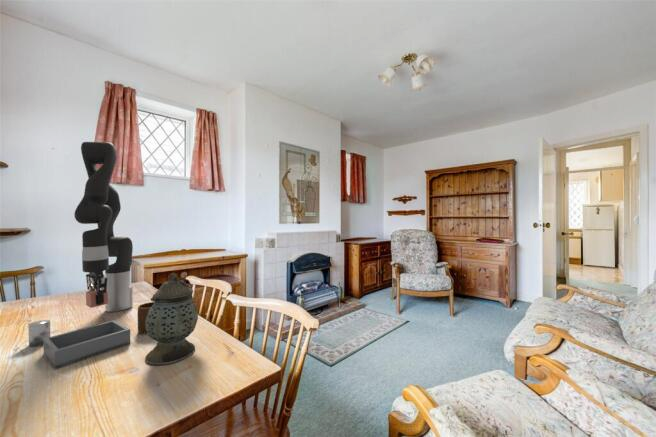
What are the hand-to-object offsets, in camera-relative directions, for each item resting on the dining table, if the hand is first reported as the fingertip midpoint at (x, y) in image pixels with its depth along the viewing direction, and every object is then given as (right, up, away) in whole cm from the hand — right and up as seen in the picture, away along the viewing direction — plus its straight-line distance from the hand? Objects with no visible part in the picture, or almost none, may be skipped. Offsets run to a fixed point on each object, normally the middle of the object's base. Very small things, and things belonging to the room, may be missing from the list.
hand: (97, 302), depth 102 cm
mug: (+22, -10, -1) cm, 24 cm away
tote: (+10, -10, -15) cm, 21 cm away
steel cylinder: (-10, -10, -11) cm, 18 cm away
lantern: (+39, -11, -18) cm, 44 cm away
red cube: (0, -1, 0) cm, 1 cm away
